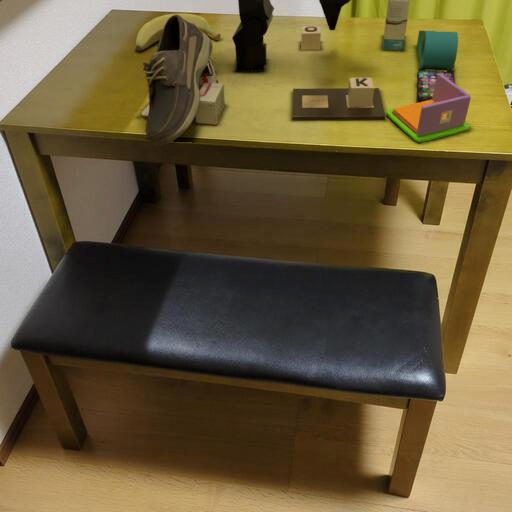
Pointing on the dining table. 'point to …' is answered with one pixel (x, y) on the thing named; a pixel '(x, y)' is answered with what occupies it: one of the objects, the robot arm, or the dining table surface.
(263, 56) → the robot arm
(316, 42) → the tile
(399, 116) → the miniature room corner
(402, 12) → the ink box
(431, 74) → the smartphone
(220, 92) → the small box
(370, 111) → the word board
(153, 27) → the banana
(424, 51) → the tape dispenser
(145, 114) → the soap
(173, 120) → the boat shoe
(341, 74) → the dining table surface
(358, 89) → the tile
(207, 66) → the toy car
